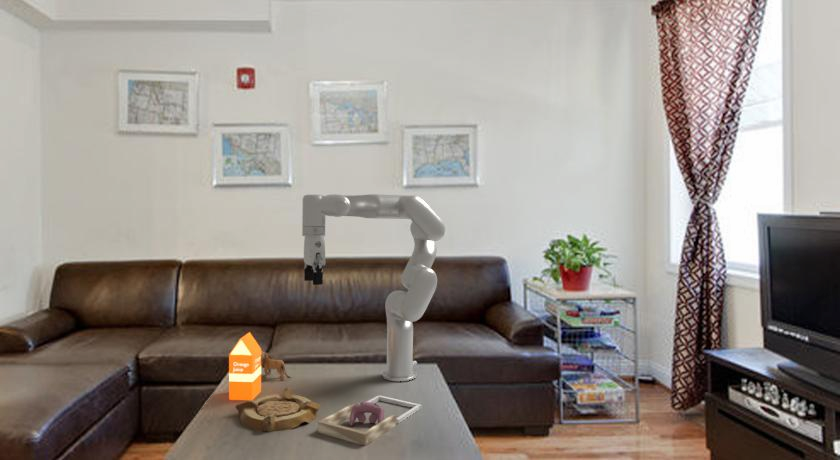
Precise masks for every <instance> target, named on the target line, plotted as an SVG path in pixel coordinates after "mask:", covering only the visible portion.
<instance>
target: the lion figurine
mask: <svg viewBox="0 0 840 460" xmlns="http://www.w3.org/2000/svg"><path fill="white" fill-rule="evenodd" d="M262 368H263V369H264V373H265V374H263V378H267V377H268V376H270V375H272V370H273V371H274V370H276V372H277V373H278V375H279V376H280V382H282V381H284V380H285V376H286V378H287V379H292V377H291V376H289V375H288V373H287V371H286V365H285V362H284V360H282V359H274V357H272V356H271V354H269V353H268V352H266V351H264V350H261V369H262Z"/></svg>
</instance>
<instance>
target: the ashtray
mask: <svg viewBox="0 0 840 460" xmlns="http://www.w3.org/2000/svg"><path fill="white" fill-rule="evenodd" d="M235 408H236V410H237V413H238V418H239V420H240V423H241V424H242V425H243V426H244V427H246V428H247V429H250V430H253V431H258V432H270V433H271V432H272V433H273V432H280V431H288V430H293V429H294V428H297V427H299V426H300V425H301V424H302V423H307V424H310V422H312V421H314V420H315V419H316V418H317V415H318V411H319V410H320V408H321V406H320V404H319V403H317V402H313V401H312V400H311V399H309V398H307V397H305V396H300V395H298V394H297V395H296V394H293V390H292V389H291V388H289V387H288V388H287V387H286V388H284V390H283V393H281V394H269V395H265V396H261V397H259V398H256V399H253V400H245V401H244V402H242V403H241V402H240V403H239V404H237V405H235Z"/></svg>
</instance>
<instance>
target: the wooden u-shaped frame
mask: <svg viewBox="0 0 840 460" xmlns="http://www.w3.org/2000/svg"><path fill="white" fill-rule="evenodd" d="M354 405H355V404H352V403H351V404H349V405H347V406H345V407H344V408H342V409H340V410H338V411H336V412H334V413H331V414H330V415H328V416H326V417H325V418H323V419H321V420H319V421H318V422H317V433H318V434H319V433H320V434H322V435H326V436H329V437H333V438H337V439H340V440H344V441H347V442H351V443H354V444H357V445H362V446H366V447H367V446H368V445H369V444H370V443H372V442H373V441H375V440H377V439H379V438H380V437H381V436H382V435H384V434H385V433H387V432H388V431H390V430H391V429H393V428H394V427H396V426H397V423H396V418H397V414H394V413H393V414H390V415H389V416H388V417H386V418H385V419H383V421H381V422H380V423H378V422H377V423H375V425H373V426H372V427H370V428H369V429H366V430H365V431H362V430H358V429H355V428H351V427H348V426H343V425H339V424H340V423H342V422H344V421H346V420H348V419H350V414H351V411H352V408H353V407H354Z"/></svg>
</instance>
